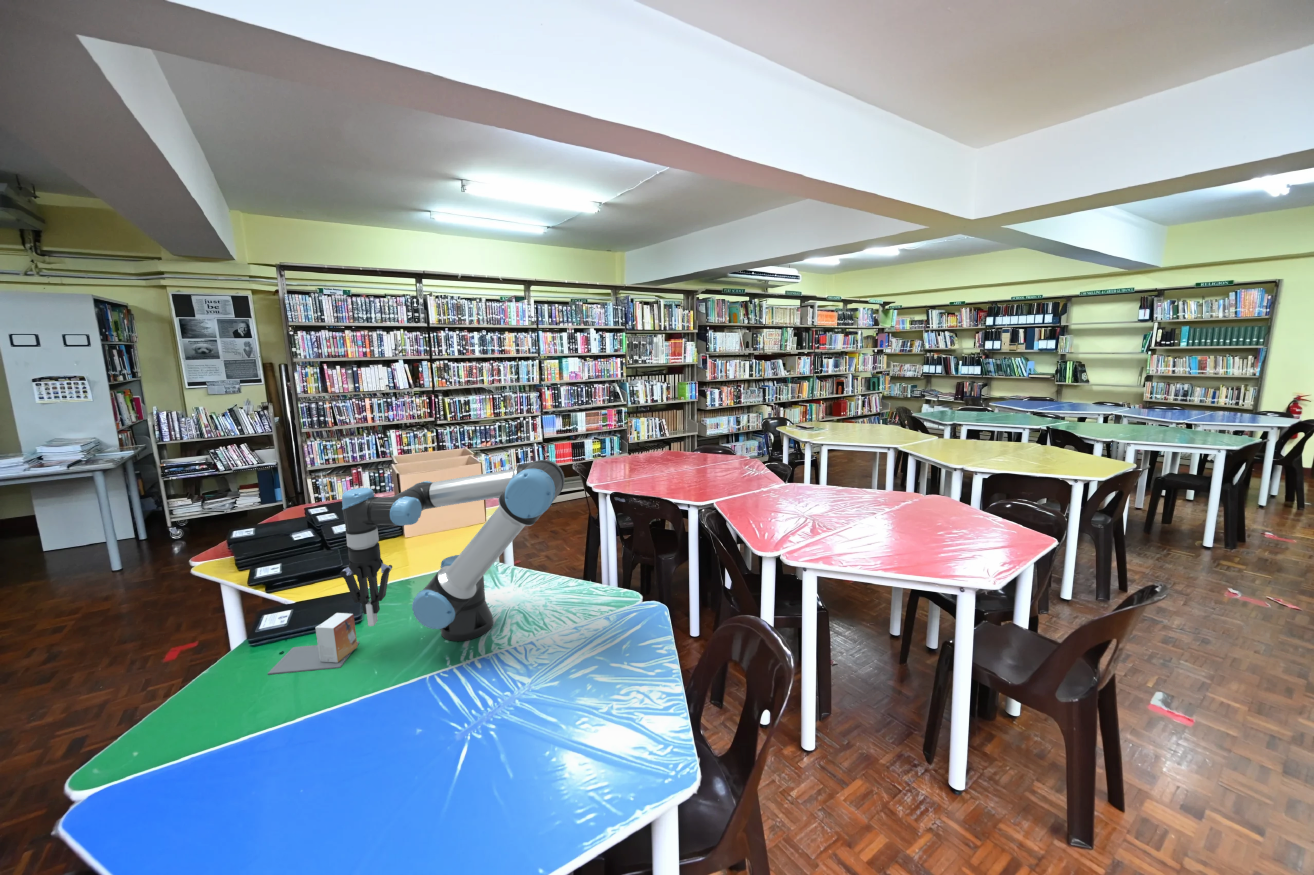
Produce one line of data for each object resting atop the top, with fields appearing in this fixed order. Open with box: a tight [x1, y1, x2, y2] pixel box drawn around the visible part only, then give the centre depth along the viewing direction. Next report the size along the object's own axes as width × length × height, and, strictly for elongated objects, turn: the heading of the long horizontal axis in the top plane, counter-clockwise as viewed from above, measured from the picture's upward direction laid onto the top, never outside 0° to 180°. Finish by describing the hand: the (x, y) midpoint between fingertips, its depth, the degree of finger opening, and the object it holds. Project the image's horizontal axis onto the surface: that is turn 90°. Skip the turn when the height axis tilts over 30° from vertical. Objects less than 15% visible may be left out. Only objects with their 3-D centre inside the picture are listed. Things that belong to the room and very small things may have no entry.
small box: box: [314, 612, 358, 663], centre depth 141 cm, size 8×6×10 cm
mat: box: [267, 640, 360, 676], centre depth 141 cm, size 18×12×1 cm, turn 98°
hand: (373, 623), depth 141 cm, fingers closed
